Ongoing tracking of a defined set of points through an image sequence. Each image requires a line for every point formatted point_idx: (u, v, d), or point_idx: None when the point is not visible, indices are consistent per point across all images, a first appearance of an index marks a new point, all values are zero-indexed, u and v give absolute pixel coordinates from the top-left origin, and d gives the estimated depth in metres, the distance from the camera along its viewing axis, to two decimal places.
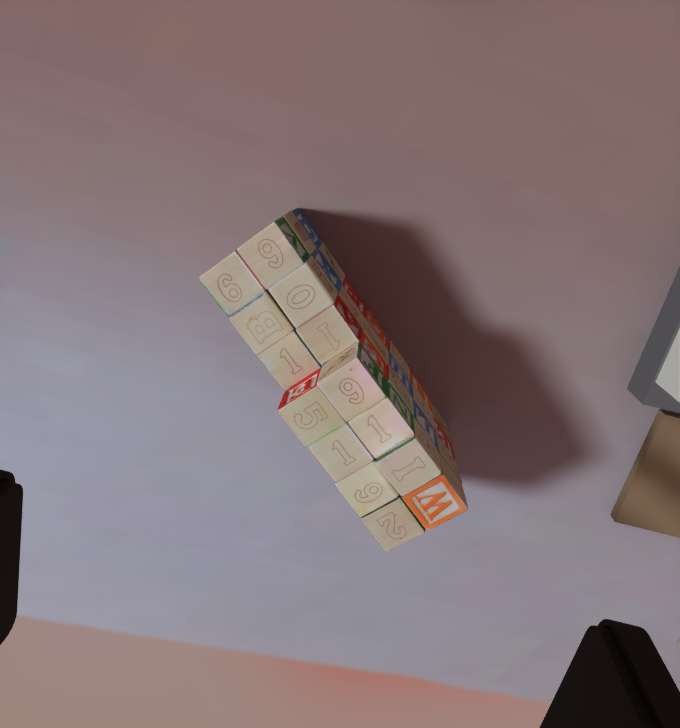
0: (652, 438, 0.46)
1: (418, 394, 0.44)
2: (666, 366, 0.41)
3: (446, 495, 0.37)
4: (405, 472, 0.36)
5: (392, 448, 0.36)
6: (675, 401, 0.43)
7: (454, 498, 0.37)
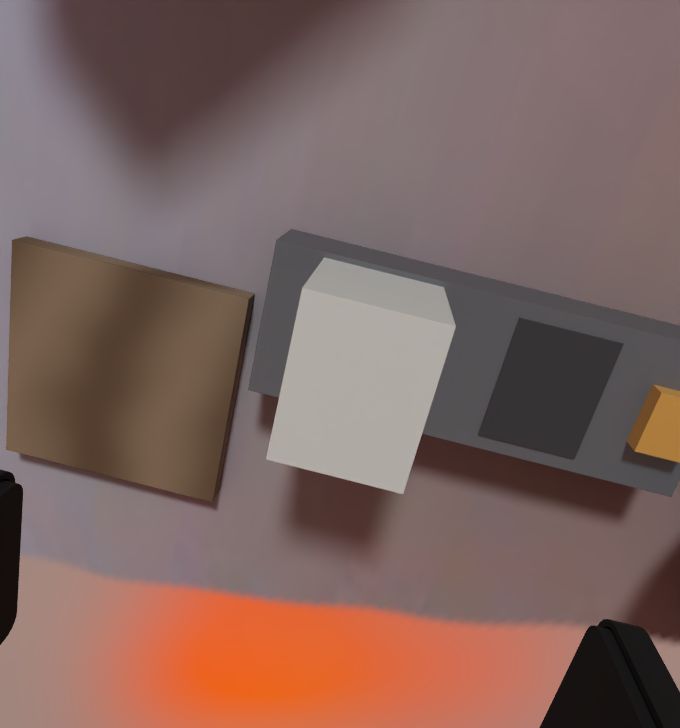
0: (198, 285, 0.24)
1: None
2: (362, 269, 0.21)
3: None
4: None
5: None
6: (285, 301, 0.22)
7: None
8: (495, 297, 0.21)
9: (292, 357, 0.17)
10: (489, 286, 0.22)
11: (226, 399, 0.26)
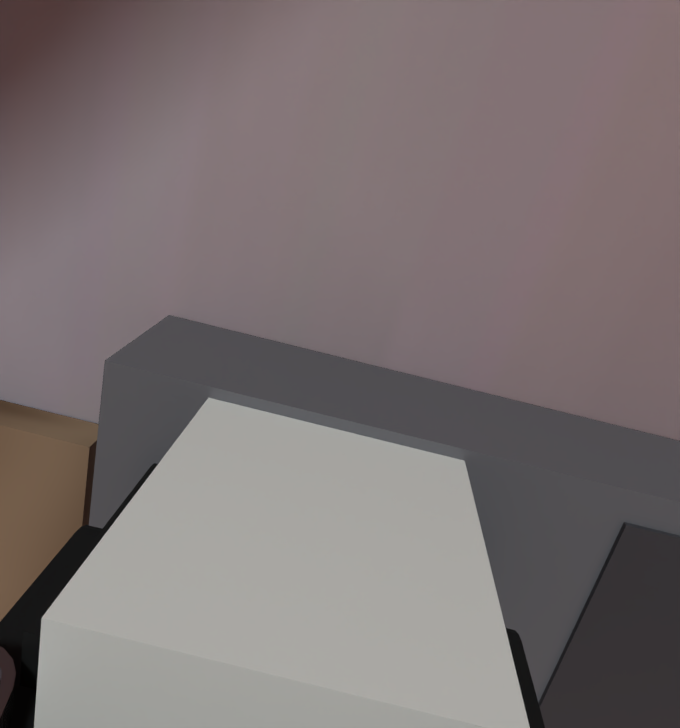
0: None
1: None
2: (287, 431, 0.09)
3: None
4: None
5: None
6: (135, 481, 0.10)
7: None
8: (574, 482, 0.10)
9: None
10: (553, 441, 0.11)
11: None
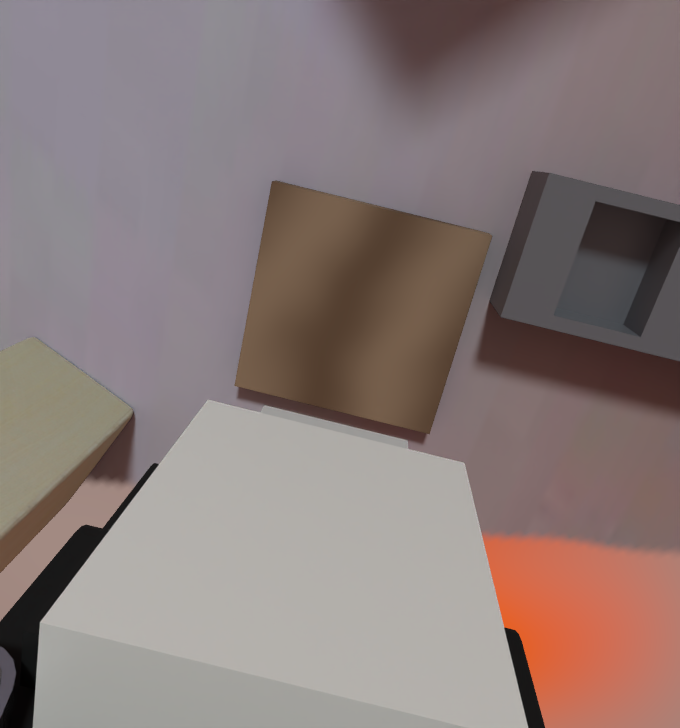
0: (444, 223, 0.26)
1: None
2: (286, 434, 0.09)
3: None
4: None
5: None
6: (549, 231, 0.24)
7: None
8: None
9: None
10: None
11: (457, 333, 0.28)
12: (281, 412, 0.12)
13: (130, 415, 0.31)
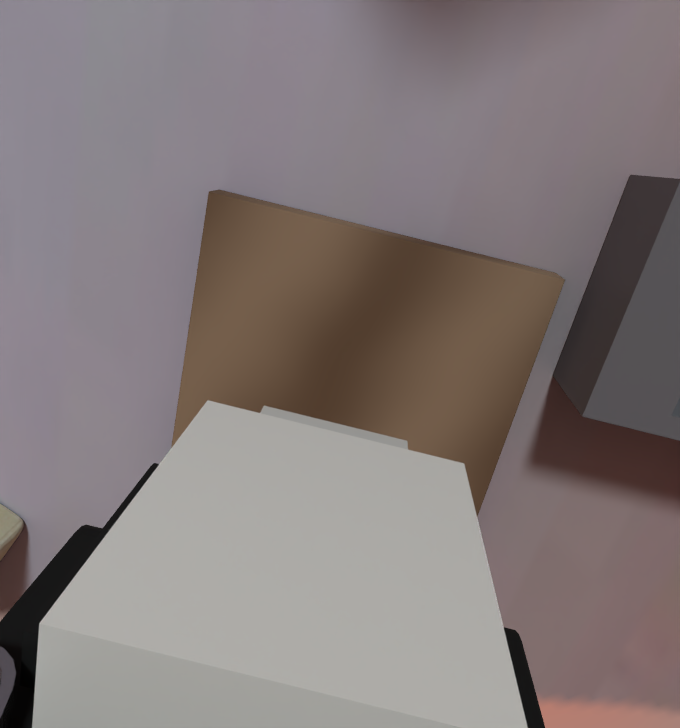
0: (487, 259, 0.16)
1: None
2: (286, 434, 0.09)
3: None
4: None
5: None
6: (673, 279, 0.14)
7: None
8: None
9: None
10: None
11: (504, 427, 0.18)
12: (281, 413, 0.12)
13: (17, 532, 0.21)
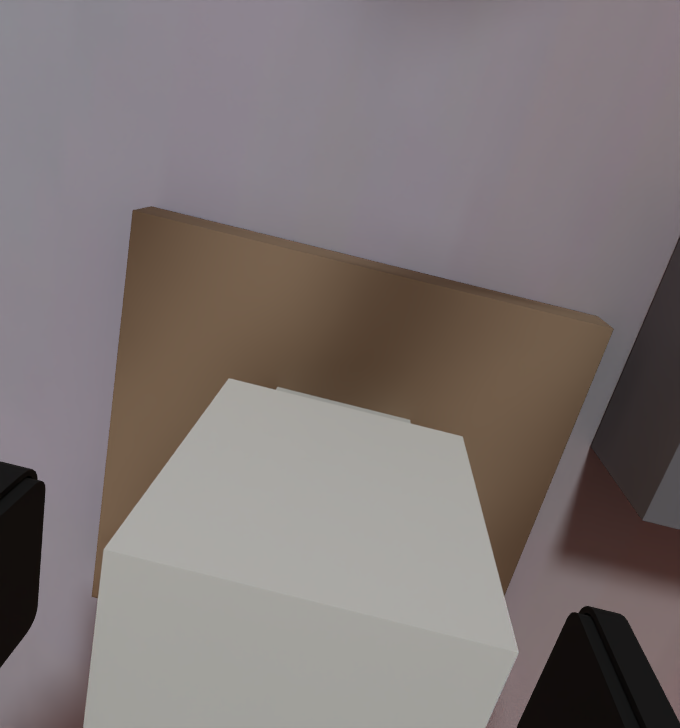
0: (508, 301, 0.12)
1: None
2: (301, 408, 0.10)
3: None
4: None
5: None
6: None
7: None
8: None
9: (98, 700, 0.07)
10: None
11: (528, 516, 0.13)
12: (293, 394, 0.13)
13: None
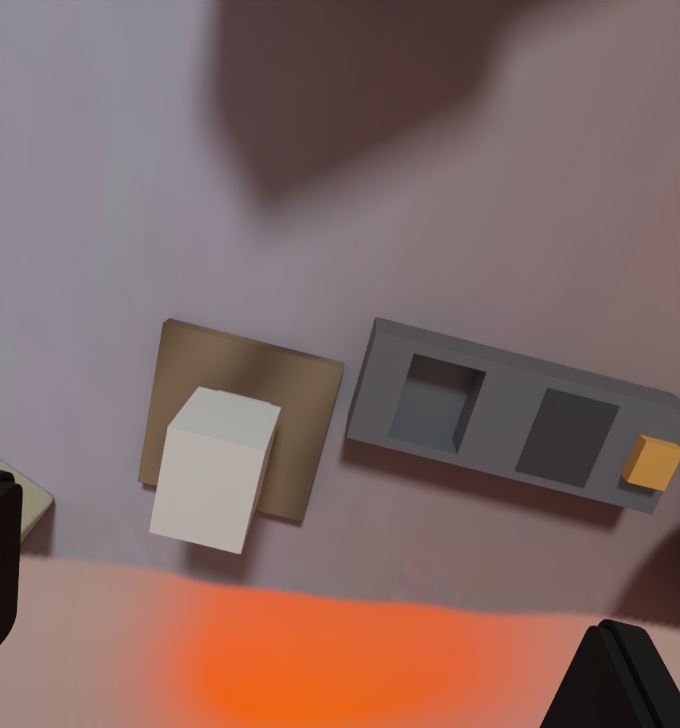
0: (305, 358, 0.32)
1: None
2: (223, 396, 0.30)
3: None
4: None
5: None
6: (379, 374, 0.30)
7: None
8: (531, 373, 0.30)
9: (163, 468, 0.26)
10: (524, 363, 0.31)
11: (320, 442, 0.33)
12: (224, 392, 0.33)
13: (50, 503, 0.36)
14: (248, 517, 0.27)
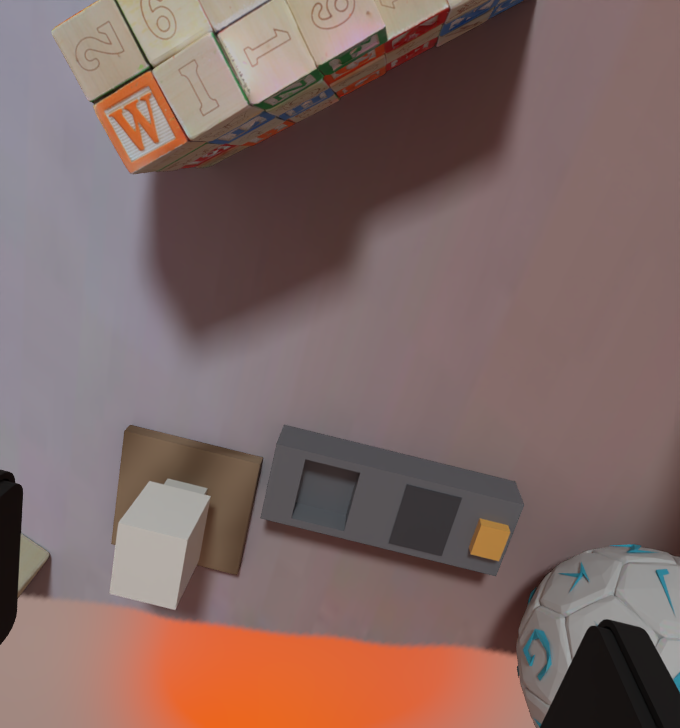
0: (231, 456, 0.42)
1: (271, 128, 0.32)
2: (166, 489, 0.41)
3: (153, 143, 0.25)
4: (192, 81, 0.24)
5: (233, 66, 0.24)
6: (281, 474, 0.40)
7: (148, 154, 0.25)
8: (393, 474, 0.39)
9: (116, 550, 0.37)
10: (392, 463, 0.40)
11: (246, 517, 0.44)
12: (172, 480, 0.43)
13: (46, 558, 0.47)
14: (179, 584, 0.38)
